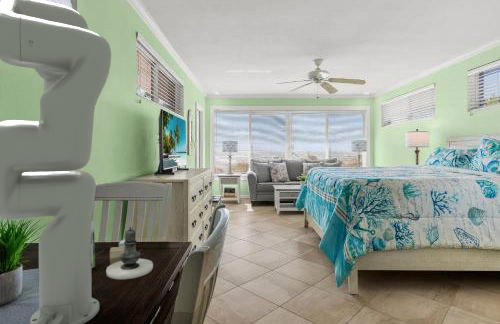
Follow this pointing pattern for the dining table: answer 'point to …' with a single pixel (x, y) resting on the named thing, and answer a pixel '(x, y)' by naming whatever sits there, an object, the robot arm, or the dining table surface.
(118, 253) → the birch block
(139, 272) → the cream plate
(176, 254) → the dining table surface
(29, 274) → the dining table surface
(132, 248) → the dark grey tall piece
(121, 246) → the blue-grey block
